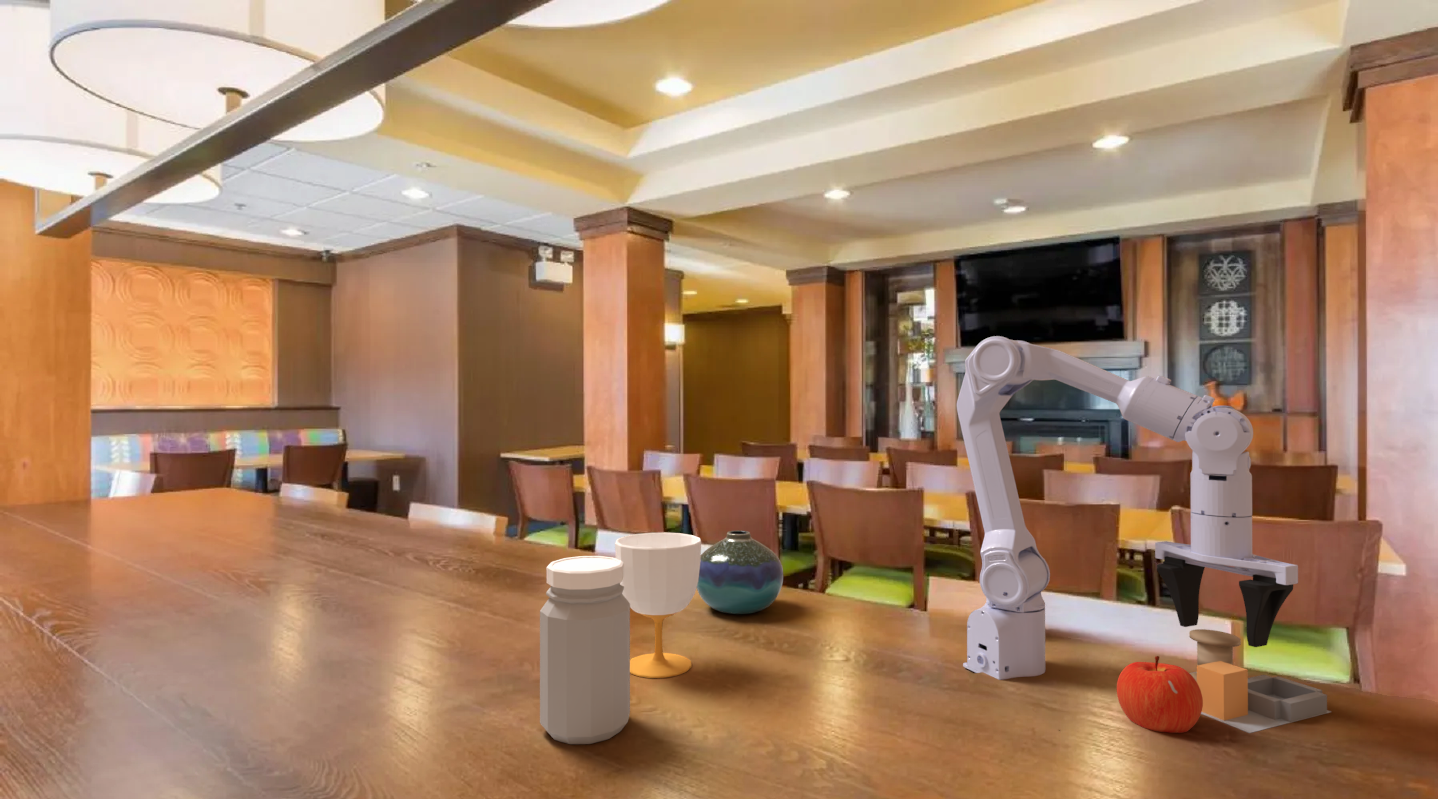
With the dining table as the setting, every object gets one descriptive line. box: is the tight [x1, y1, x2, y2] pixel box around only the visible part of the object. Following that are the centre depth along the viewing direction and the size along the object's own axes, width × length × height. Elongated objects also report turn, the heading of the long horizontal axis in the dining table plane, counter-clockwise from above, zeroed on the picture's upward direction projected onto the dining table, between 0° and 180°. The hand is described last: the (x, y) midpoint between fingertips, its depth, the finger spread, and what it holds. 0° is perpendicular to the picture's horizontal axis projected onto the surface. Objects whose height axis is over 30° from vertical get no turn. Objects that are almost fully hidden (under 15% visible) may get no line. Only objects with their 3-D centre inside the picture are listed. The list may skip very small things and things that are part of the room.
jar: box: [539, 555, 631, 745], centre depth 80 cm, size 10×10×18 cm
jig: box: [1189, 671, 1332, 734], centre depth 86 cm, size 14×14×3 cm
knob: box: [1188, 628, 1242, 682], centre depth 90 cm, size 6×6×6 cm
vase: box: [696, 530, 784, 615], centre depth 126 cm, size 15×15×13 cm
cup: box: [614, 532, 702, 679], centre depth 99 cm, size 12×12×17 cm
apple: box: [1116, 655, 1203, 734], centre depth 80 cm, size 8×8×8 cm
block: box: [1196, 661, 1249, 720], centre depth 82 cm, size 4×3×5 cm
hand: (1221, 634), depth 82 cm, fingers open, 7 cm apart
